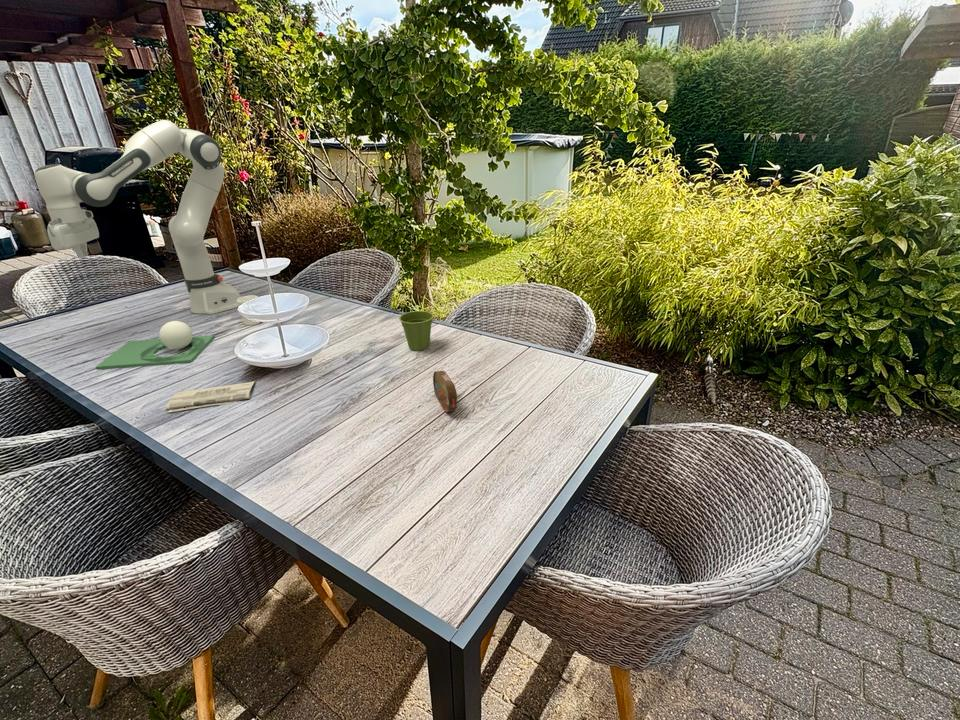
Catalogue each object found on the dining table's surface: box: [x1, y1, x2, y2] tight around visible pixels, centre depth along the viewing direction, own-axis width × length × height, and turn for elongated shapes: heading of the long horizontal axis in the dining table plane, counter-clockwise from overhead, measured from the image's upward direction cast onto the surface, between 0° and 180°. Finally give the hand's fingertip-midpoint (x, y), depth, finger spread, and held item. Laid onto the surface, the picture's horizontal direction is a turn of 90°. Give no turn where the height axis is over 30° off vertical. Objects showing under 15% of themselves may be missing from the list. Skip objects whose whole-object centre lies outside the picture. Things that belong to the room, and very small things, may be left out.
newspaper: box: [165, 381, 257, 413], centre depth 141 cm, size 23×12×2 cm, turn 104°
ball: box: [158, 320, 193, 350], centre depth 171 cm, size 10×10×10 cm
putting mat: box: [95, 334, 216, 370], centre depth 170 cm, size 30×21×1 cm
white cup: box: [237, 294, 260, 326], centre depth 191 cm, size 8×8×10 cm
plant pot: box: [398, 310, 435, 351], centre depth 166 cm, size 12×12×11 cm
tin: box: [432, 370, 458, 413], centre depth 133 cm, size 15×3×8 cm, turn 21°
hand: (83, 257), depth 169 cm, fingers closed
